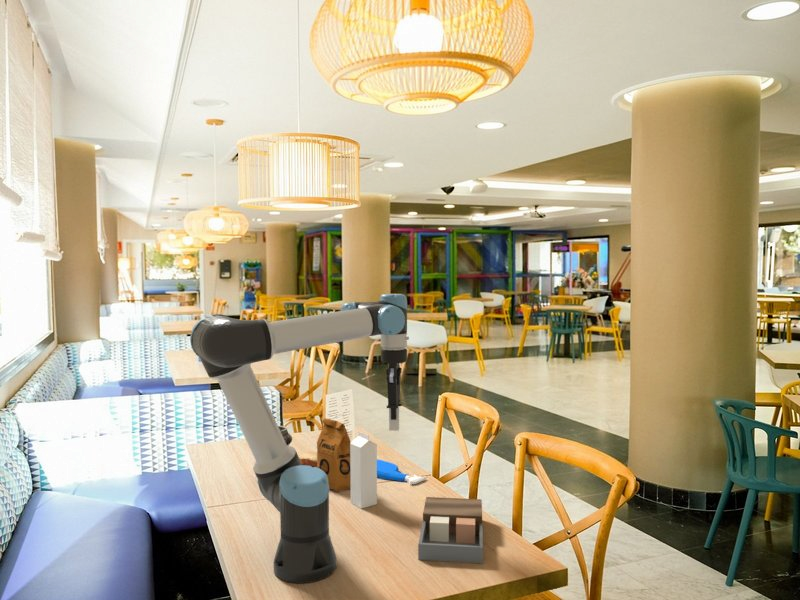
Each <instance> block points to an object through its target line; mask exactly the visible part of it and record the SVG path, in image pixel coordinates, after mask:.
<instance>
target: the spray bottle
mask: <svg viewBox="0 0 800 600" xmlns="http://www.w3.org/2000/svg"><path fill="white" fill-rule="evenodd" d="M399 470H400V469H399V467H398V465H396V464H395V463H393V462H389V461H385V460H382V459H378V458H377V477H378V478H377V479H382V480H389V481H394V482H395V481H396V482H406V481H407V482H406V483H408V482H409V485H410V486H413V485H417V484H419V483H422V482H424V481H425V480H427V476H417V475H416V474H413V476H410V475H409V474H407V473H403V472H400V471H399ZM412 484H413V485H412Z"/></svg>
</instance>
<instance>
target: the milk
mask: <svg viewBox="0 0 800 600" xmlns="http://www.w3.org/2000/svg"><path fill="white" fill-rule="evenodd" d="M350 442H351V443H350V477H351V488H350V504H352V505H354V506H356V507H358V508H359V509H365V508H367V507H371V506H372V507H373V506H375V505H377V504H378V478H377V459H378V454H377V453H378V451H377V450H378V444H377V443H375V442H373V441H372V440H370V435H368V434H366V433H364V432H361V431H358V432H357V437H355V438H354V439H353V440H351V441H350Z"/></svg>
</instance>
